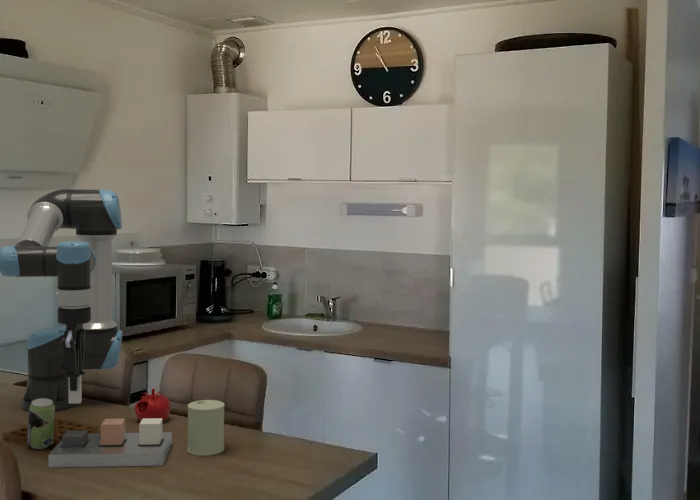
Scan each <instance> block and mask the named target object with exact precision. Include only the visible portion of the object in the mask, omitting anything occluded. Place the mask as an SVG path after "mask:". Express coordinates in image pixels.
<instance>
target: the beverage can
mask: <svg viewBox="0 0 700 500" xmlns="http://www.w3.org/2000/svg"><path fill="white" fill-rule="evenodd" d="M55 412H56V411H55V406H54V404H53V401H52V400H50V399H46V398H40V399H35V400H33V401H32V404H31V405H30V406H29V411H28V418H27V439H26V441H27V442H26V444H27V445H28V446H29V447H31V448H32V449H35V450H36V449H37V450H43V449H46V448H48V447H50V446H51V445H52V444H53V443H54V434H55V433H54V432H55V430H54V429H55V415H56V414H55Z"/></svg>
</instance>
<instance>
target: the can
mask: <svg viewBox="0 0 700 500" xmlns="http://www.w3.org/2000/svg"><path fill="white" fill-rule="evenodd" d="M225 405H226V404H225V403H224V401H223V402H222V401H221V400H216V399H203V400H202V399H201V400H200V399H199V400H195V401H192V402H189V403H188V404H187V449H186V450H187V451H186V452H187V454H188V453H189V454H190V455H193V456H200V457H205V456H206V457H207V456H215V455H218V454H221V453H222V452H224V451H225Z"/></svg>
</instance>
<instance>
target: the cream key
mask: <svg viewBox="0 0 700 500" xmlns="http://www.w3.org/2000/svg"><path fill="white" fill-rule="evenodd" d="M139 422H140V423H138V426H139V428H138V429H139V431H138V433H139V445H145V444H160V442H161V440H162V432H163V422H162V418H143V419H142V420H141V421H139Z"/></svg>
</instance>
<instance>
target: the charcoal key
mask: <svg viewBox="0 0 700 500" xmlns="http://www.w3.org/2000/svg"><path fill="white" fill-rule="evenodd" d="M88 432H89V431H88V430H66V432H65V433H64V434H63V436H62V438H61V440H62V447H85V446H86V444H87V443H88Z"/></svg>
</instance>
